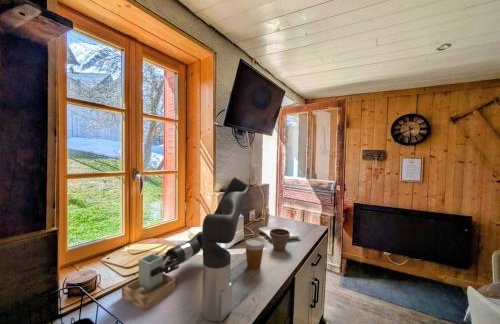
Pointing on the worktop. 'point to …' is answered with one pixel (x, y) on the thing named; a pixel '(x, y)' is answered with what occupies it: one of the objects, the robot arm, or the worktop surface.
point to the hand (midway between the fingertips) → (145, 271)
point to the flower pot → (279, 238)
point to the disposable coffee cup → (254, 253)
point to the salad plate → (267, 229)
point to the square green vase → (146, 267)
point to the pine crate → (148, 292)
